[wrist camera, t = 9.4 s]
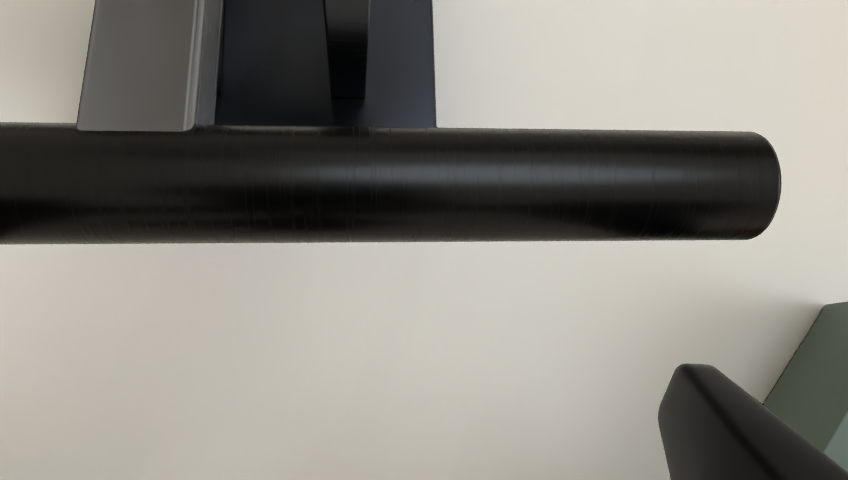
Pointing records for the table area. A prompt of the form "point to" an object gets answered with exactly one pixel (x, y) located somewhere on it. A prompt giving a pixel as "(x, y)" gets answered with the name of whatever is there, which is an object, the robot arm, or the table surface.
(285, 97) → the black stand
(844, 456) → the control block
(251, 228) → the lever
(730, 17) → the table surface
